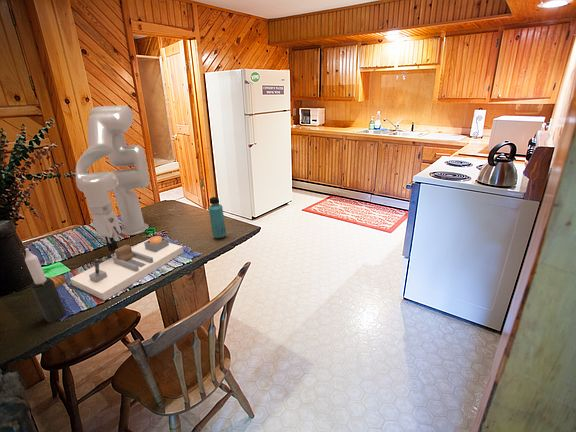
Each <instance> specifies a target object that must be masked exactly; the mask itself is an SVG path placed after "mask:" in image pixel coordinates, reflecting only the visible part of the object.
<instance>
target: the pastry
mask: <svg viewBox="0 0 576 432" xmlns="http://www.w3.org/2000/svg"><path fill="white" fill-rule="evenodd" d="M49 278H50V279H51V280H53V282H54V284H55V286H56V289H57V288H59V287H60V286H63V284H65V283H66V281H67V278H66V277H65V276H64V275H56V276H52V277H51V276H50V277H49Z"/></svg>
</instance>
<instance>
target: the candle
mask: <svg viewBox="0 0 576 432" xmlns="http://www.w3.org/2000/svg"><path fill="white" fill-rule="evenodd" d="M29 249H30V248H28V247H26V248H25V249H24V251H25V258H24V262H25V264H26V266H27V269H28V271H29V273H30V276H31V278H32V280H33V282H32V283H30V285H29V287H30V289H31V291H32V294H33V296H34V299H35V300H36V303H37V305H38V307H39V309H40V311H41V313H42V315H43V316H42V317H43V318H44V320H45V321H46V322H48V323H49V324H50V323H54V322H55V321H57V320H59V319H61V318H64V317H65V316H67V311H66V309H65V306H64V303H63V302H62V299H61V296H60V294H59V291H58V289H57V288H56V286H55V284H54V282H53V280H51V279H50V277H49V276H46V275H45V272H44V270H43V268H42V265H41V262H40V260H39V258H38V256H37V255H35V254H33V253H32V252H31V251H30V250H29Z"/></svg>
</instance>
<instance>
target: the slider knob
mask: <svg viewBox="0 0 576 432" xmlns="http://www.w3.org/2000/svg"><path fill="white" fill-rule="evenodd" d="M131 248H132V246H131V245H129V244H124V245H122V246H120V247H118V249H116V250H115V251H114V253H115V256H116V257H117V258H118V259H121V260H123V261H127V260H129V259H131V258H133V257H134V256H133V253H132V249H131Z"/></svg>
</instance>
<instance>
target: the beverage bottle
mask: <svg viewBox="0 0 576 432" xmlns="http://www.w3.org/2000/svg"><path fill="white" fill-rule="evenodd" d="M209 204H210V206H208V213H209V219H210V220H209V221H210V224H211V225H210V226H211V234H212V236H213V237H214V238H215V239H216V238H217V239H218V238H219V239H220V238H223V237H225V236H226V234H227V229H226V223H225V217H224V215H225V214H224V211H223V210H224V209H223V205H221V204H220V199H219V197H217V196H213V197H210V198H209Z"/></svg>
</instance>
